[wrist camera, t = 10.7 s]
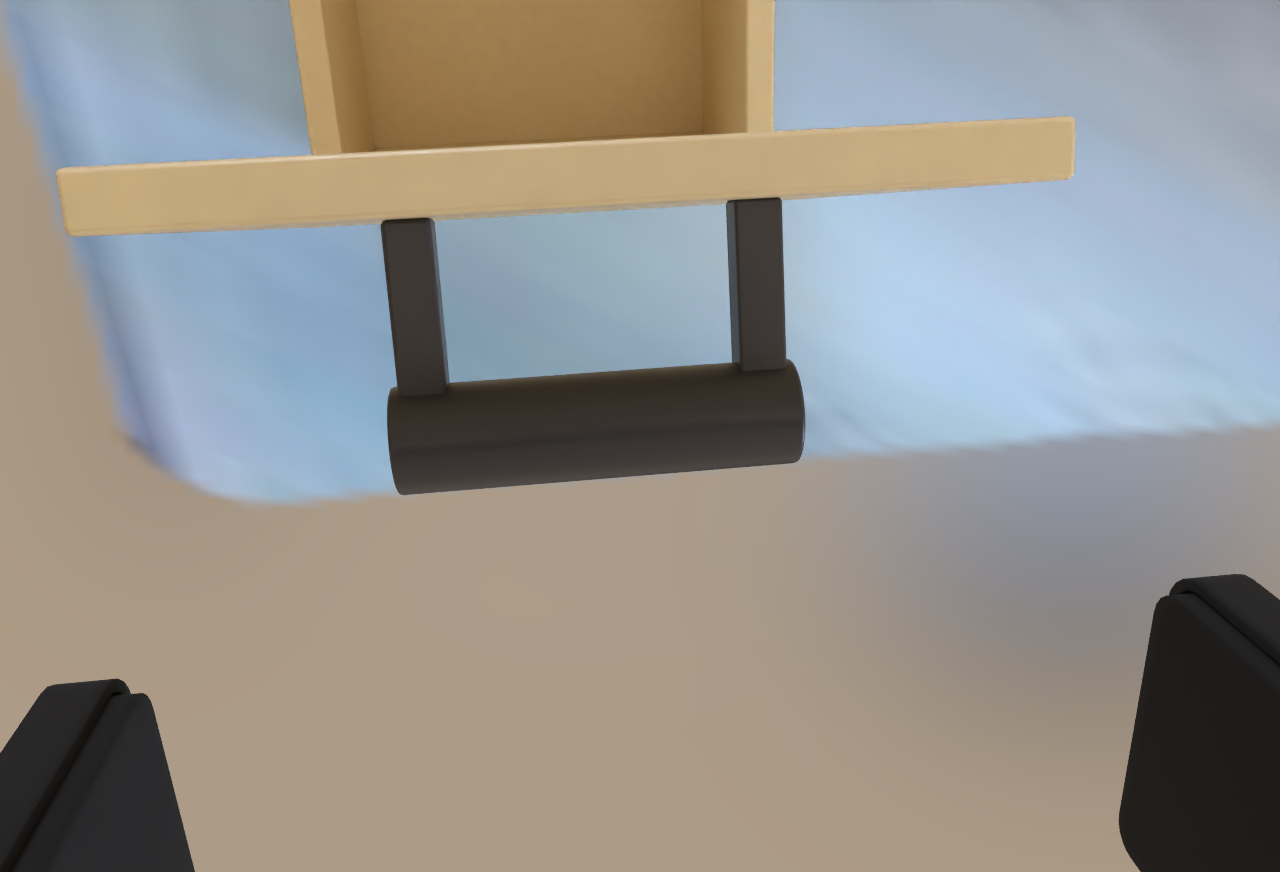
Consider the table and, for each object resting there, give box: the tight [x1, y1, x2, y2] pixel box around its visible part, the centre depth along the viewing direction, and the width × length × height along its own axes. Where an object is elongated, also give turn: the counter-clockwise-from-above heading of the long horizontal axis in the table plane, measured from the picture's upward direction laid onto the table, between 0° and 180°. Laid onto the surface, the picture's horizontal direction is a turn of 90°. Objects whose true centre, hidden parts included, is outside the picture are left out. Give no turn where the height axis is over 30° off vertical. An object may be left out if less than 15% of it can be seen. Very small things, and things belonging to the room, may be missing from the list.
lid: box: [56, 116, 1075, 495], centre depth 21 cm, size 16×13×5 cm
